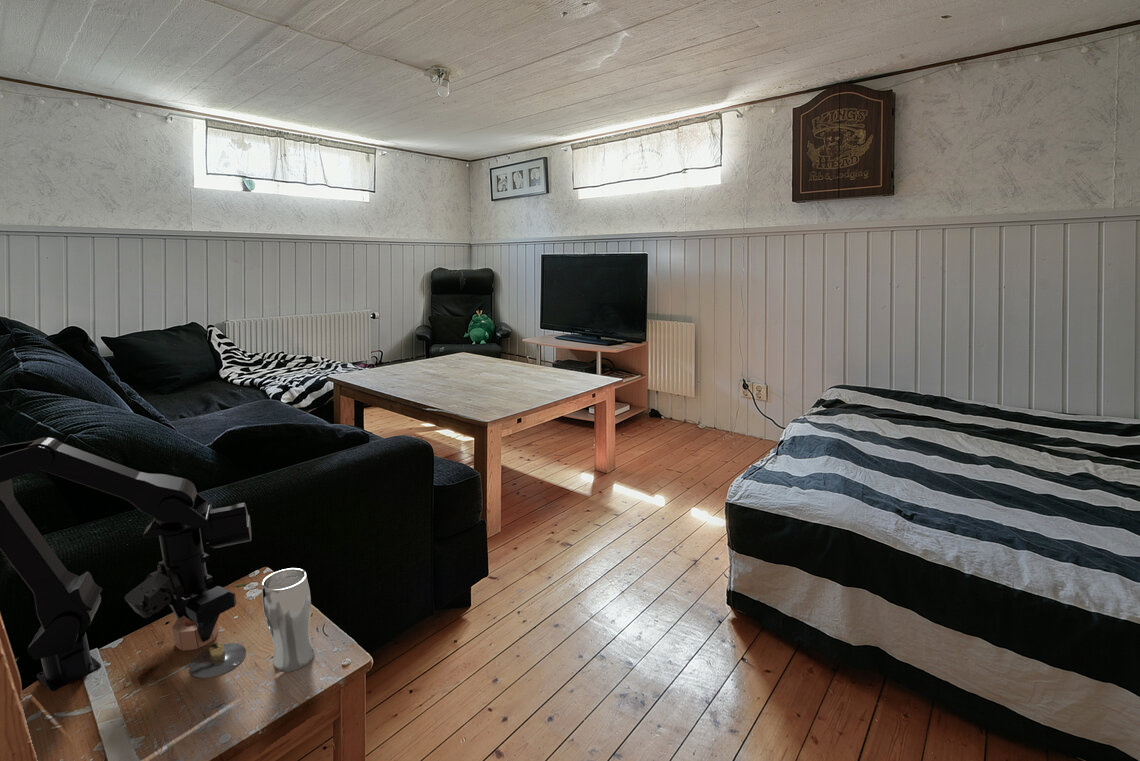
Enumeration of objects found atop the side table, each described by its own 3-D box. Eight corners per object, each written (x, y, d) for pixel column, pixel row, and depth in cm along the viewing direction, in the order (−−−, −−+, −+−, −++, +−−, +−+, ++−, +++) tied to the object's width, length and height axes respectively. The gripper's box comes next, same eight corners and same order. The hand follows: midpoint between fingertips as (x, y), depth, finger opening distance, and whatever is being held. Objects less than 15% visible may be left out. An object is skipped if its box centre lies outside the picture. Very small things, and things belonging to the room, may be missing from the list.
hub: (180, 668, 94) (177, 652, 93) (230, 640, 100) (228, 625, 100) (206, 686, 89) (203, 670, 89) (256, 656, 96) (254, 641, 95)
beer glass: (299, 677, 91) (289, 593, 88) (261, 671, 93) (249, 588, 90) (325, 648, 98) (317, 569, 95) (289, 643, 99) (280, 565, 96)
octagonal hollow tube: (169, 642, 99) (166, 624, 98) (206, 623, 104) (203, 606, 103) (187, 654, 96) (184, 636, 95) (223, 634, 101) (221, 617, 100)
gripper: (102, 559, 95) (118, 641, 98) (155, 593, 85) (171, 683, 88) (175, 532, 104) (188, 608, 107) (231, 560, 94) (243, 642, 98)
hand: (196, 634), depth 100 cm, fingers closed on octagonal hollow tube, 6 cm apart
